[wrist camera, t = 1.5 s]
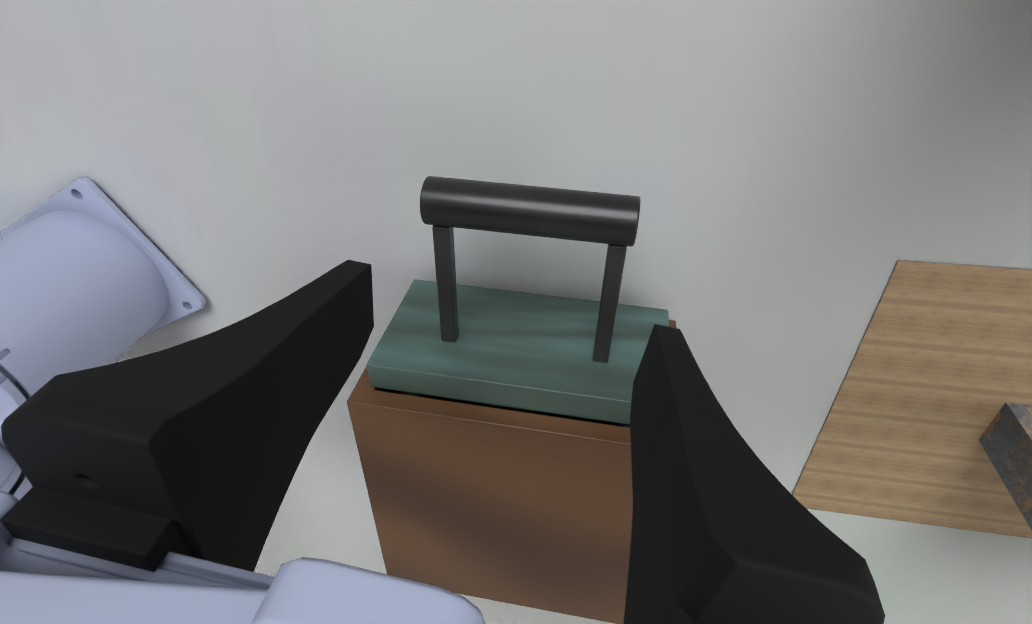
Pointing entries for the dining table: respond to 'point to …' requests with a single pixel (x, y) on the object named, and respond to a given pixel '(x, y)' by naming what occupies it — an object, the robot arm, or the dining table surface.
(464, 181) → the green drawer
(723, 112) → the dining table surface
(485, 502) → the cabinet
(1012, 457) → the architectural model on board
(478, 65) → the dining table surface
